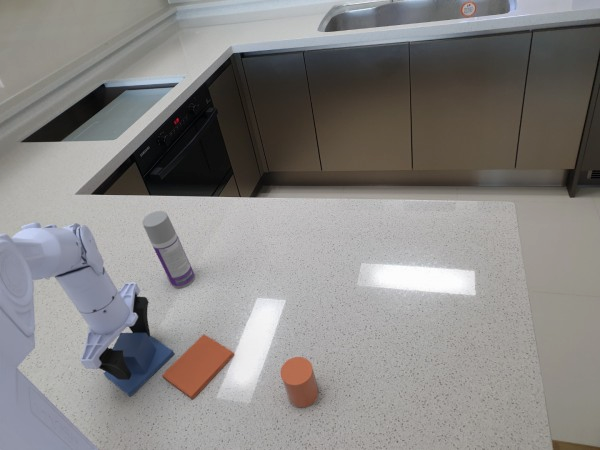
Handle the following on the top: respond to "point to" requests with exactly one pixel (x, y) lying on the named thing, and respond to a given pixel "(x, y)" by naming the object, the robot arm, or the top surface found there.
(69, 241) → the robot arm
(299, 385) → the terracotta cylinder
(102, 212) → the top surface
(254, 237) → the top surface
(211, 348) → the terracotta mat
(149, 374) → the blue mat
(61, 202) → the top surface
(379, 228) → the top surface
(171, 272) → the container
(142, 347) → the blue cube
